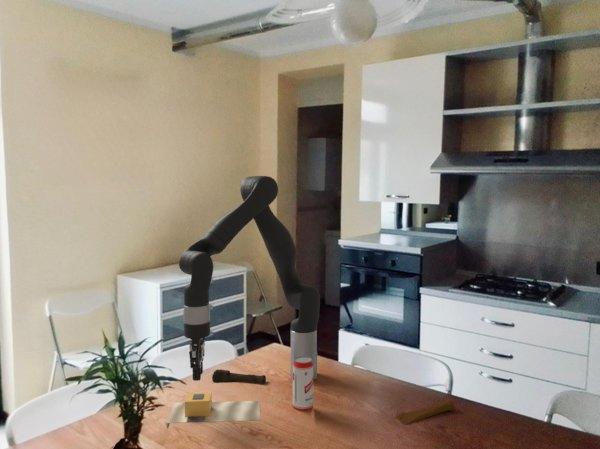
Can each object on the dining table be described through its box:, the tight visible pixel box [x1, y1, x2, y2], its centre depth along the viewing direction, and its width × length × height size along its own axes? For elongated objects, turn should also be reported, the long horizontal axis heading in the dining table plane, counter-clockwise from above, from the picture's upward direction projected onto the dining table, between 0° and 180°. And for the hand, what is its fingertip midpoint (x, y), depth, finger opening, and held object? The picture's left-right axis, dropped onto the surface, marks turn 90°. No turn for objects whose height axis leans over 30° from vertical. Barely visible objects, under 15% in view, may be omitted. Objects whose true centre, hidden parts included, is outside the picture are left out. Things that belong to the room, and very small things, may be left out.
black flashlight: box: [211, 369, 267, 386], centre depth 162 cm, size 19×4×5 cm, turn 75°
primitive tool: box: [395, 398, 456, 425], centre depth 142 cm, size 19×6×4 cm, turn 115°
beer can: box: [292, 356, 314, 412], centre depth 143 cm, size 6×6×16 cm
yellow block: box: [184, 392, 213, 417], centre depth 139 cm, size 7×6×5 cm
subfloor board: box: [166, 400, 261, 429], centre depth 140 cm, size 26×12×2 cm, turn 94°
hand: (197, 376), depth 138 cm, fingers open, 3 cm apart
